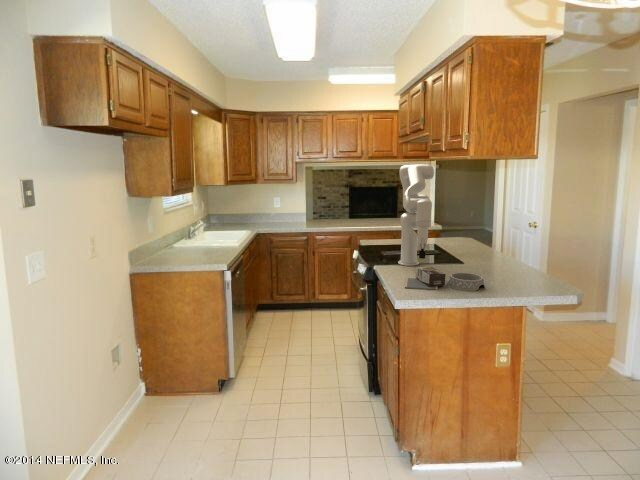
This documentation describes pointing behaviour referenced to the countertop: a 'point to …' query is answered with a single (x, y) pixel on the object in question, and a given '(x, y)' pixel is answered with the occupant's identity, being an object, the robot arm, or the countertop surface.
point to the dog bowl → (465, 281)
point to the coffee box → (430, 276)
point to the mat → (418, 284)
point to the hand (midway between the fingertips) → (422, 258)
